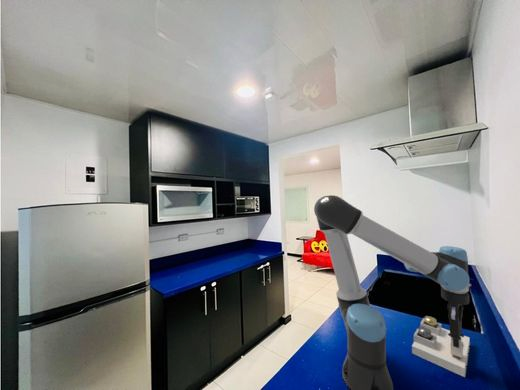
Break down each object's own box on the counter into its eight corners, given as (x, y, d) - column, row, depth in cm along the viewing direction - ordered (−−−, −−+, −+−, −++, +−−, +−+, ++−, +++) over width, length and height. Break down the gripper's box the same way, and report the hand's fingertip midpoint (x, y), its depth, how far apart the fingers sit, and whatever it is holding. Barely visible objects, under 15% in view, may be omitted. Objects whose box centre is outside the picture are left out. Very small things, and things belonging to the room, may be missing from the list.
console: (464, 377, 71) (464, 361, 71) (411, 353, 82) (411, 339, 83) (469, 344, 87) (469, 331, 87) (424, 328, 98) (424, 316, 98)
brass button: (435, 329, 90) (435, 322, 90) (424, 325, 93) (424, 318, 93) (437, 325, 93) (437, 318, 93) (426, 321, 96) (425, 315, 96)
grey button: (430, 341, 82) (430, 334, 82) (417, 336, 85) (417, 329, 85) (432, 337, 85) (432, 329, 85) (420, 332, 88) (419, 325, 88)
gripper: (467, 298, 69) (469, 370, 68) (470, 287, 78) (472, 351, 77) (437, 291, 75) (440, 357, 74) (443, 281, 83) (446, 341, 83)
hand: (456, 354), depth 75 cm, fingers closed
